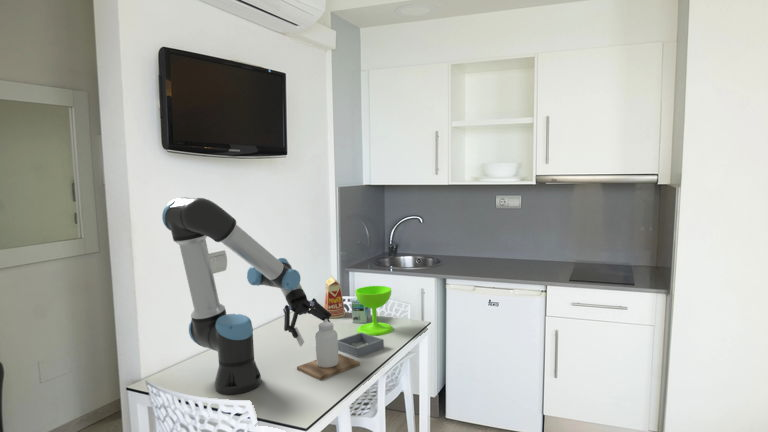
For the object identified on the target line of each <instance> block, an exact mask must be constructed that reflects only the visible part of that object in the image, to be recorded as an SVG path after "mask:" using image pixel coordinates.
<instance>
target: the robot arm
mask: <svg viewBox="0 0 768 432" xmlns="http://www.w3.org/2000/svg"><path fill="white" fill-rule="evenodd" d="M161 217H162V218H161V220H162V223H163V225H164V226H165V228H166V229H167V230H169V231H171V236H172V240H173V242H174V243H176V244H178V245H179V248H180V254H181V258H182V261H183V266H184V270H185V275H186V280H187V284H188V288H189V289H188V290H189V292H190V297H191V302H192V306H193V311H192V312H191V314H190V318H191V320H190V323H189V325H188V334H189V338H190V339H191V341H193V342H194V343H195V344H197V345H198V346H200V347H202V348H207V349H210V350H212V351H215V352H217V354H218V355H217V357H218V358H217V359H218V368H217V373H216V376H215V380H214V389H215V391H216V392H217V393H219V394H223V395H238V394H244V393H247V392H250V391H252V390H255V389H256V388H258V387H259V386H260V385H261V384H262V375H261V373H260V370H259V368H258V365H257V363H256V360H255V351H254V350H255V348H254V328H253V323H252V320H251V318H250V317H249V316H247V315H245V314H242V313H238V314H236V313H227V311H226V307H225V306H226V305H224V304H221V303H220V299H219V295H218V290H217V286H216V281H215V276H214V272H213V267H212V262H211V258H210V254H209V248H208V245H207V241H206V239H207V237H208V238H210V239H211V240H213V241H214V242H216V243H222V244H223V245H224V246H225V247H226V248H228V249H229V250H231V251H232V252H234V254H235V255H237V256H238V257H240V258H241V259H242V260H244V261H245V262H246V263H247V264H249V265H250V266H249V268H248V270H247V272H246V273H247V274H246V279H247V282H248V284H249V285H251V286H257V287H260V286H265V287H267V286H268V287H272V288H278V289H280V290H281V292H282V294H283V296H284V298H285V300H286V302H287V304H285V305H284V307H283V309H282V310H283V313H284V322H283V323H284V325H283V327H284V328H283V329H284V332H287V331H288V333H291V334H292V337H293V338H294V339H296V341H297V344H298V345H299V347H302V346H303V345H304V344H305V341H304V338H303V336H302V334H301V333H300V331H299V328H298V326H296V324H297V320H298V317H299V316H302V315H306V314H309V315H312V316H314V317H315V318H317V319H319V320H321V321H322V322H331V320H330V319H331V318H330V317H331V313H329V312H328V311H327V310H326V309H325V308H324V307H325V306H324V307H323V306H322V305H321V304H320V303H319V302H318V301H317V299H316V298H312V300H309V299H308V297H307V294H306V293H305V291H304V289H303V286H302V285H301V283H300V282H301V274H300V272H299V271H298V270H296V269H293V268H292V265H291V264H290V262H289V261H288V259H287V258H285V257H279V258H276V257H275V255H273V254H272V253H271V252H269V251H268V250H267V249H266V248H265V247H264V246H263V245H261V244H260V243H259V242H258V241H257V240H255V239H254V238H253V236H251V235H249V233H247V232H246V231H245V230H243V229H242V228H241V227H240V226H239V225H238V224H237V220H236V218H234V217H233V216H232V215H231V214H229V212H227V211H226V210H225V209H223V208H222V207H221V206H219V205H218V204H217V203H215V202H214V201H212V200H210V199H207V198H203V197H185V196H183V197H179V198H174V199H172V200H170V201H168V203H167V204H166V205H165V207H164V209H163V211H162V216H161ZM291 311H292V312H293V314H292V318H291ZM290 318H291V319H290ZM290 320H291V321H290Z"/></svg>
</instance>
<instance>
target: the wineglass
mask: <svg viewBox="0 0 768 432" xmlns="http://www.w3.org/2000/svg"><path fill="white" fill-rule="evenodd" d="M354 291H355V292H354V293H355V297H357V299H358V301H359V302H360V303H361V304H362V305H364V306H365V307H368V308H370V309H371V318H372V322H367V323H363V324H362V325H360V326H358V327H357V330H356V332H357V334H358V333H361V332H362V333H365V334H368V335H371V336H374V337H377V336H384V335H388V334H390V333H392V332H393V331H394V327H393V326H392V325H391V324H388V323H386V322H379V321H378V317H377V315H378V314H377V313H378V312H377V309H379V308H381V307H384V305H386V304H387V302H388V301H389V300H390V299H391V295H392V288H391V287H389V286H385V285H368V286H362V287H358V288H356V289H355V290H354Z"/></svg>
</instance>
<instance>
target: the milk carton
mask: <svg viewBox="0 0 768 432" xmlns="http://www.w3.org/2000/svg"><path fill="white" fill-rule="evenodd" d="M324 295H325V299H324V308H325V309H326V310H327V311H328V312H329V313H331V317H330V318H329V319H339V318H341V317H345V316H346V314H345V313H346V311H345V305H344V299H343V292H342V288H341V285H340V283H339V282H338V280H337V279H336V278H335V277H334V276H333V274H330V277H329V278H328V279H327V280H325V294H324Z"/></svg>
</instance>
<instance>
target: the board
mask: <svg viewBox="0 0 768 432" xmlns="http://www.w3.org/2000/svg"><path fill="white" fill-rule="evenodd" d="M338 360H339V361H338V364H337V365H336V366H334V367H329V368H323V367H319V366H318V365H317V359H315V360H311V361H309V362H306V363H304V364H299V365H298V366H297V365H296V370H297V371H298V372H301V373H303V374H306V375H308V376H310V377H311V378H314V379H316V380H318V381H322V380H325V379H327V378H331V377H332V376H334V375H339V374H340V373H343V372H345V371H348V370H350V369H353V368H356V367H358V366H360V365H361V362H360V361H359V360H356V359H354V358H351V357H348V356H346V355H342V354H340V353H338Z"/></svg>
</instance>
